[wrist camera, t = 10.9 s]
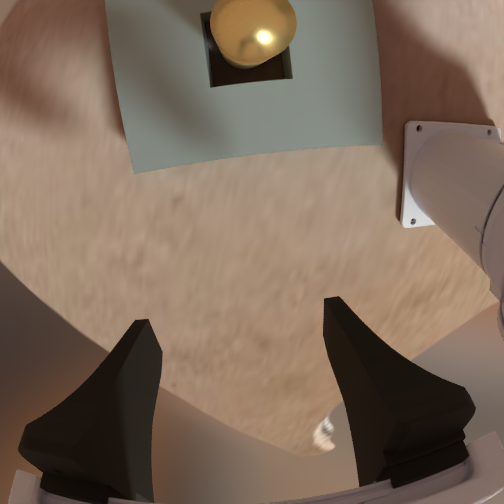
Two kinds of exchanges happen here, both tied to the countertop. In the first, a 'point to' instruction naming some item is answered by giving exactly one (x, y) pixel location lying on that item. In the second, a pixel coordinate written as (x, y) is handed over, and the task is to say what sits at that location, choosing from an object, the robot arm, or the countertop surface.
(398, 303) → the countertop surface
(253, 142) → the hole plate
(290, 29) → the long pin
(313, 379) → the countertop surface
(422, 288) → the countertop surface
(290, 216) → the countertop surface
